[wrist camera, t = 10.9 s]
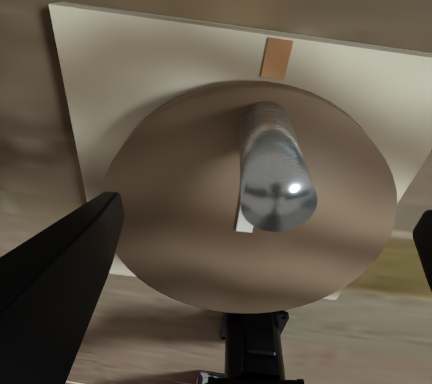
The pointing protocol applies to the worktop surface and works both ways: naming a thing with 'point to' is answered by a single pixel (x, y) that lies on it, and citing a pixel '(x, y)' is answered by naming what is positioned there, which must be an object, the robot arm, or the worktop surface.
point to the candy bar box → (206, 377)
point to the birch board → (228, 72)
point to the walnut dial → (251, 198)
